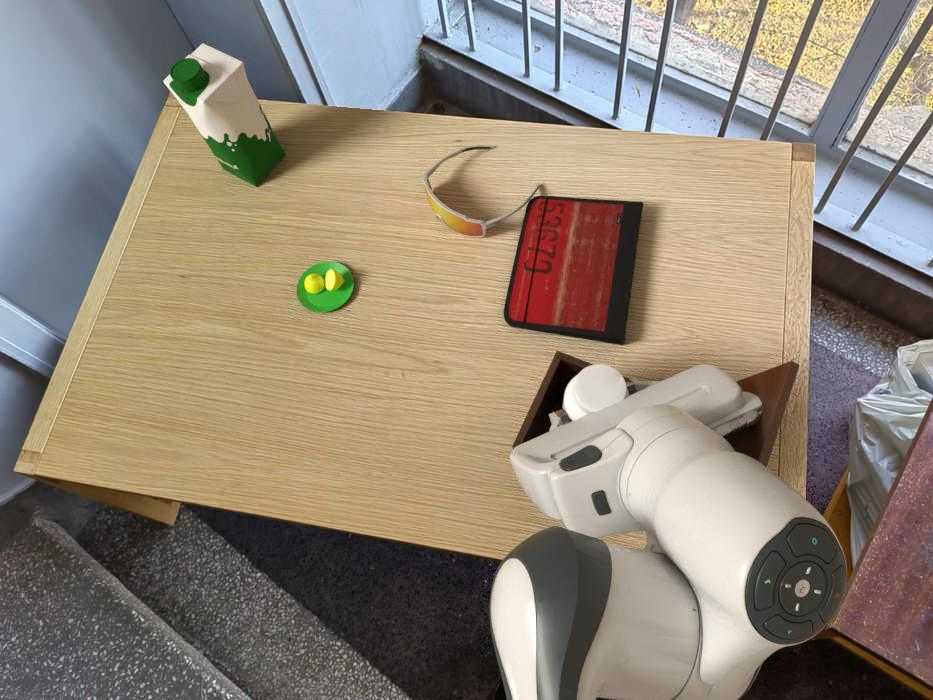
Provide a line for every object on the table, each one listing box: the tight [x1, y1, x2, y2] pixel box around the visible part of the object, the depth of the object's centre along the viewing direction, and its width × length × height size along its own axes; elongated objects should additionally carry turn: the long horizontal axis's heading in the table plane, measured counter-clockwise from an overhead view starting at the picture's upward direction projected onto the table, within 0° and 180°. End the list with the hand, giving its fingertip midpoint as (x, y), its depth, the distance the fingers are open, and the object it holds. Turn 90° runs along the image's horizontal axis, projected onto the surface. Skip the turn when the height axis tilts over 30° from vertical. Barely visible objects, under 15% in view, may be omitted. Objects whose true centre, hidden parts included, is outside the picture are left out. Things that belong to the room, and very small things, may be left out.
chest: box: [511, 350, 630, 479], centre depth 75 cm, size 15×12×13 cm
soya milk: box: [162, 42, 286, 188], centre depth 96 cm, size 9×9×20 cm
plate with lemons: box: [296, 261, 355, 313], centre depth 93 cm, size 8×8×3 cm
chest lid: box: [726, 360, 800, 468], centre depth 59 cm, size 16×12×1 cm
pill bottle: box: [563, 363, 629, 422], centre depth 66 cm, size 6×6×11 cm
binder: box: [503, 195, 644, 346], centre depth 91 cm, size 16×2×21 cm
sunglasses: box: [423, 144, 541, 239], centre depth 97 cm, size 14×15×5 cm
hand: (592, 401), depth 66 cm, fingers closed on pill bottle, 6 cm apart
